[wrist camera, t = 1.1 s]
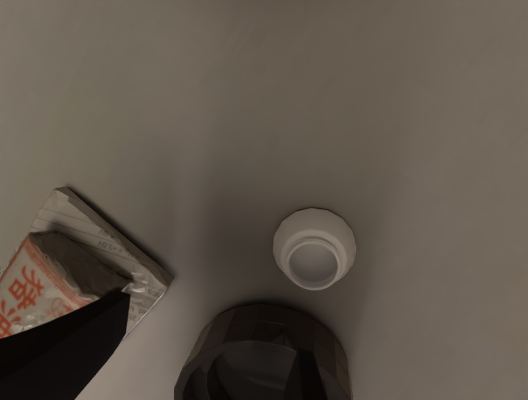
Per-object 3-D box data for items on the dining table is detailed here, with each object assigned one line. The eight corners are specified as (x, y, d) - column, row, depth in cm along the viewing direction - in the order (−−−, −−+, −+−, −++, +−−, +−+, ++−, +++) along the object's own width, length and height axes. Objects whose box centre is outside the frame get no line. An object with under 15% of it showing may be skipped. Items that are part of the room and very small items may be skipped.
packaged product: (16, 461, 24) (-96, 377, 24) (64, 404, 29) (-28, 332, 28) (145, 318, 19) (2, 202, 18) (180, 275, 23) (67, 181, 22)
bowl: (377, 400, 23) (389, 461, 20) (247, 441, 27) (234, 500, 23) (298, 273, 22) (293, 312, 18) (168, 333, 25) (140, 377, 21)
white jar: (362, 271, 21) (343, 197, 20) (369, 297, 18) (347, 213, 17) (287, 286, 22) (264, 217, 21) (282, 312, 19) (256, 235, 18)
